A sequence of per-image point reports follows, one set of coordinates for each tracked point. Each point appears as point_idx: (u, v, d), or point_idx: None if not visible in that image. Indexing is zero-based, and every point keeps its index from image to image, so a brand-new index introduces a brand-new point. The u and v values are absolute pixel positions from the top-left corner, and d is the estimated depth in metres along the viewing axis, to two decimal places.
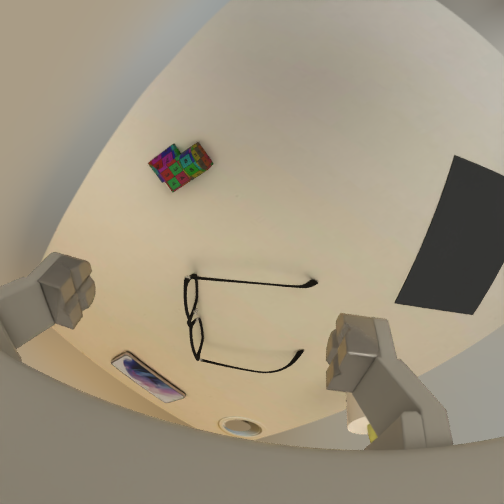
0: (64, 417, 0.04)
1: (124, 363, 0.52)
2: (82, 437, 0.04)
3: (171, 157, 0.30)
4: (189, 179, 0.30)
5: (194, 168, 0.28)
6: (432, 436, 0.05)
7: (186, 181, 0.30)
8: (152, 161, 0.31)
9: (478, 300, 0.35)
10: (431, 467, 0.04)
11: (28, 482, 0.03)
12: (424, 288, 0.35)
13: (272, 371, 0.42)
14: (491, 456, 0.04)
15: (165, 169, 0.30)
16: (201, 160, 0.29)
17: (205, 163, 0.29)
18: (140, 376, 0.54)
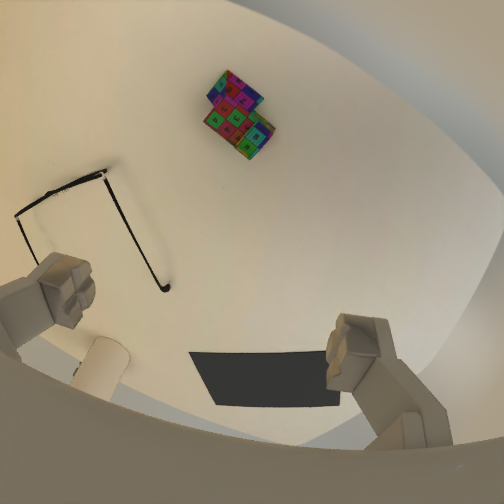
0: (64, 417, 0.04)
1: None
2: (82, 437, 0.04)
3: (248, 106, 0.22)
4: (228, 139, 0.23)
5: (249, 150, 0.22)
6: (432, 436, 0.05)
7: (224, 135, 0.22)
8: (231, 76, 0.21)
9: (230, 403, 0.46)
10: (431, 467, 0.04)
11: (28, 483, 0.03)
12: (216, 367, 0.41)
13: None
14: (491, 456, 0.04)
15: (231, 104, 0.21)
16: None
17: None
18: None
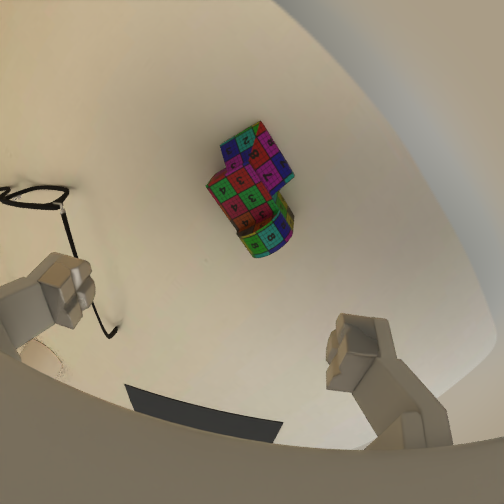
0: (64, 417, 0.04)
1: None
2: (82, 437, 0.04)
3: (272, 184, 0.17)
4: (232, 219, 0.18)
5: (256, 250, 0.17)
6: (432, 436, 0.05)
7: (228, 213, 0.17)
8: (263, 133, 0.16)
9: None
10: (431, 467, 0.04)
11: (28, 483, 0.03)
12: (150, 403, 0.36)
13: None
14: (491, 456, 0.04)
15: (252, 177, 0.16)
16: None
17: None
18: None
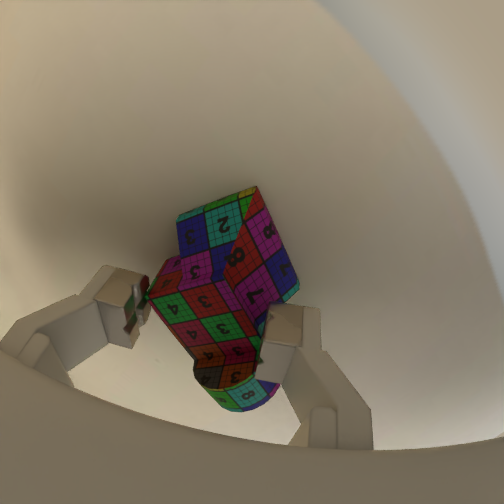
0: (64, 417, 0.04)
1: None
2: (82, 437, 0.04)
3: (261, 308, 0.10)
4: (188, 347, 0.10)
5: (222, 403, 0.10)
6: (346, 437, 0.05)
7: (181, 339, 0.10)
8: (258, 215, 0.09)
9: None
10: (431, 467, 0.04)
11: (28, 483, 0.03)
12: None
13: None
14: (491, 456, 0.04)
15: (226, 301, 0.09)
16: None
17: None
18: None
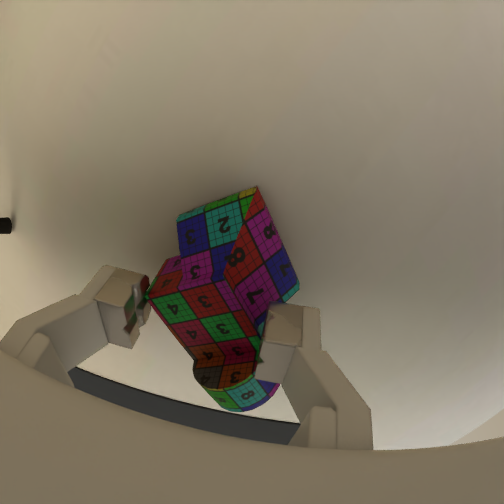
0: (64, 417, 0.04)
1: None
2: (82, 437, 0.04)
3: (261, 308, 0.10)
4: (187, 347, 0.10)
5: (222, 403, 0.10)
6: (346, 437, 0.05)
7: (181, 339, 0.10)
8: (259, 215, 0.09)
9: None
10: (431, 467, 0.04)
11: (28, 482, 0.03)
12: (94, 393, 0.20)
13: None
14: (491, 456, 0.04)
15: (226, 301, 0.09)
16: None
17: None
18: None
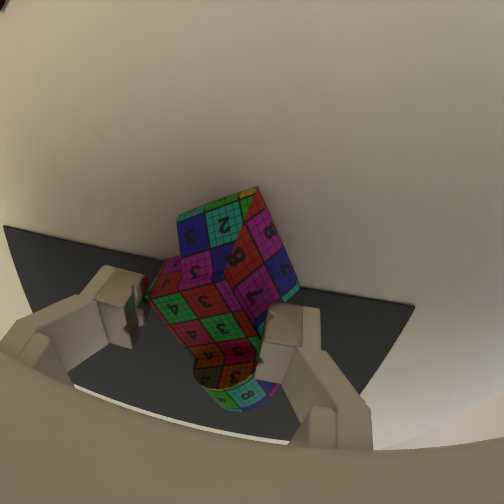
0: (64, 417, 0.04)
1: None
2: (82, 437, 0.04)
3: (261, 308, 0.10)
4: (187, 347, 0.10)
5: (221, 403, 0.10)
6: (346, 437, 0.05)
7: (181, 339, 0.10)
8: (259, 215, 0.09)
9: (91, 387, 0.20)
10: (431, 467, 0.04)
11: (28, 483, 0.03)
12: (54, 286, 0.14)
13: None
14: (491, 456, 0.04)
15: (226, 301, 0.09)
16: None
17: None
18: None
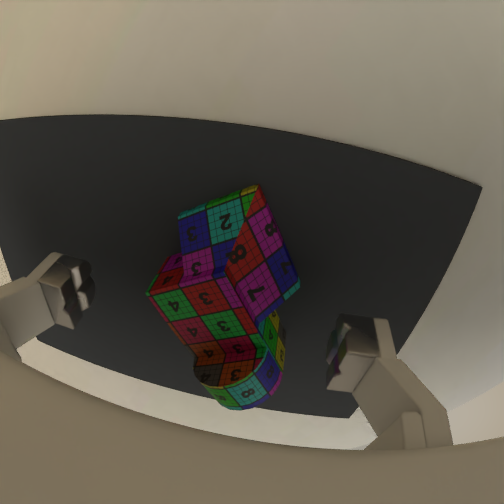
0: (64, 417, 0.04)
1: None
2: (82, 437, 0.04)
3: (262, 306, 0.10)
4: (188, 344, 0.10)
5: (221, 401, 0.10)
6: (432, 436, 0.05)
7: (182, 336, 0.10)
8: (260, 212, 0.09)
9: (64, 346, 0.16)
10: (431, 467, 0.04)
11: (28, 482, 0.03)
12: (21, 191, 0.10)
13: None
14: (491, 456, 0.04)
15: (227, 298, 0.09)
16: None
17: None
18: None
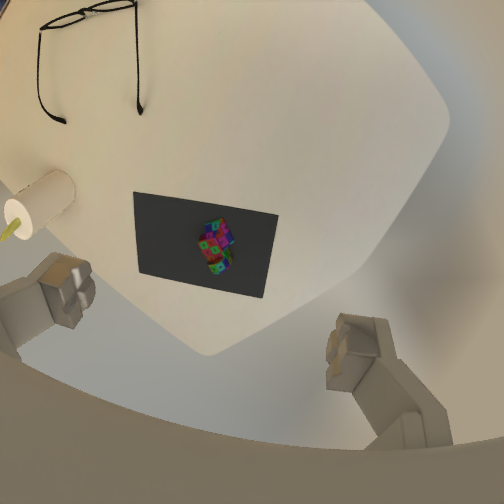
0: (64, 417, 0.04)
1: None
2: (82, 437, 0.04)
3: (224, 245, 0.41)
4: (206, 256, 0.42)
5: (214, 271, 0.42)
6: (432, 436, 0.05)
7: (204, 254, 0.42)
8: (223, 224, 0.41)
9: (153, 272, 0.48)
10: (431, 467, 0.04)
11: (28, 482, 0.03)
12: (153, 215, 0.42)
13: (41, 102, 0.31)
14: (491, 456, 0.04)
15: (215, 242, 0.41)
16: None
17: None
18: None
